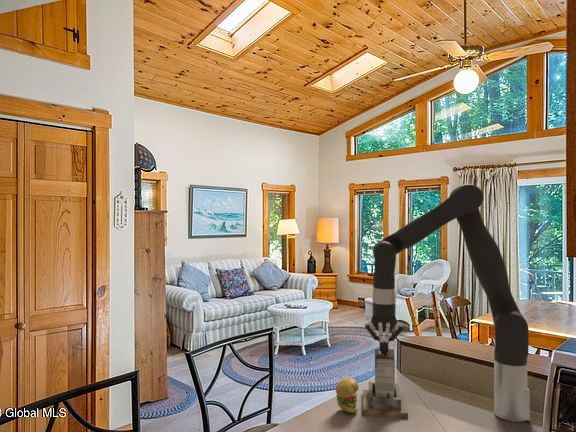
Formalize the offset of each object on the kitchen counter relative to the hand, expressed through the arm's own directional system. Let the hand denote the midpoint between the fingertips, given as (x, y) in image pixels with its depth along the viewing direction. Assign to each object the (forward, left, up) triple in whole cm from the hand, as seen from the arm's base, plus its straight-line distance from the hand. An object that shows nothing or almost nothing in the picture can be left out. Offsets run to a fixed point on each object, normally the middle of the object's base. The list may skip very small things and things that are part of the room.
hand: (383, 352), depth 143 cm
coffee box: (0, 0, -16) cm, 16 cm away
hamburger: (+12, +7, -18) cm, 23 cm away
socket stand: (0, 0, -18) cm, 18 cm away
